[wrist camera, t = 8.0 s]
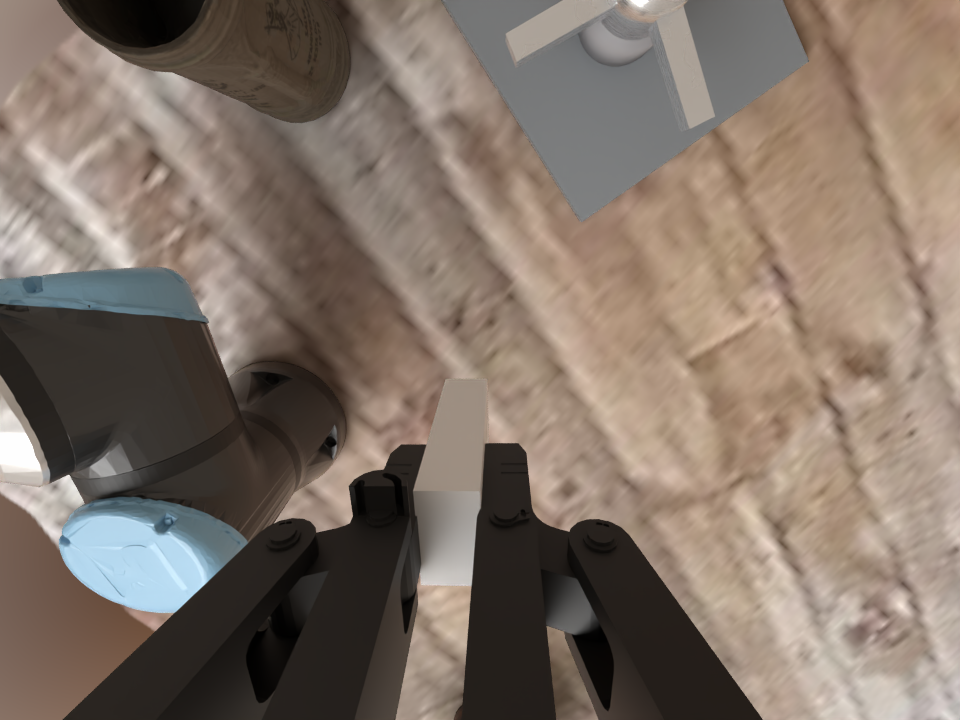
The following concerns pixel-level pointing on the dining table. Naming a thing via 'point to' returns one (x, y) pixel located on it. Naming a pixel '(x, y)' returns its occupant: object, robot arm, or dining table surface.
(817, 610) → the dining table surface
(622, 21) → the capstan
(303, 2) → the beer stein
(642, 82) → the stand
